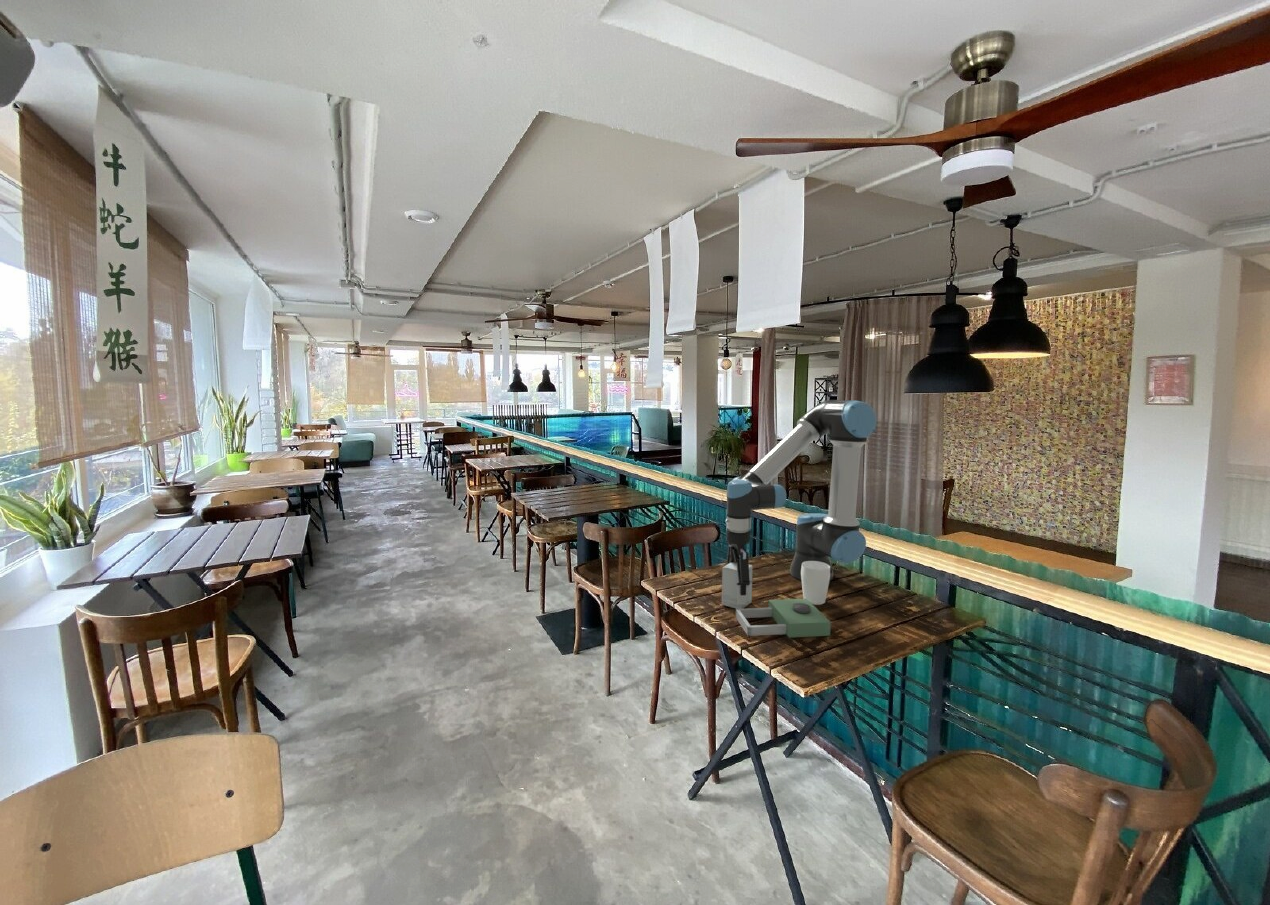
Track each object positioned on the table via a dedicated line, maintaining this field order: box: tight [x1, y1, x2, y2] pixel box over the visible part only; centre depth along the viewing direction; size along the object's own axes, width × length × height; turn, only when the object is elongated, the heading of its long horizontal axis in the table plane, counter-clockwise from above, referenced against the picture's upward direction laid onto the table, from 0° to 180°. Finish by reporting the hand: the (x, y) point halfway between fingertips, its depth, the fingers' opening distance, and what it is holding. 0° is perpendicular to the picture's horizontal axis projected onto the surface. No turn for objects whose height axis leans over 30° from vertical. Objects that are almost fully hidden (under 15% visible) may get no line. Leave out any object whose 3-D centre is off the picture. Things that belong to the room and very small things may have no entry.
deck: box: [734, 598, 832, 639], centre depth 149 cm, size 23×16×5 cm
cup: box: [801, 561, 831, 606], centre depth 165 cm, size 9×9×12 cm
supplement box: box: [721, 562, 753, 610], centre depth 162 cm, size 7×7×13 cm
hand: (736, 597), depth 163 cm, fingers closed on supplement box, 10 cm apart
